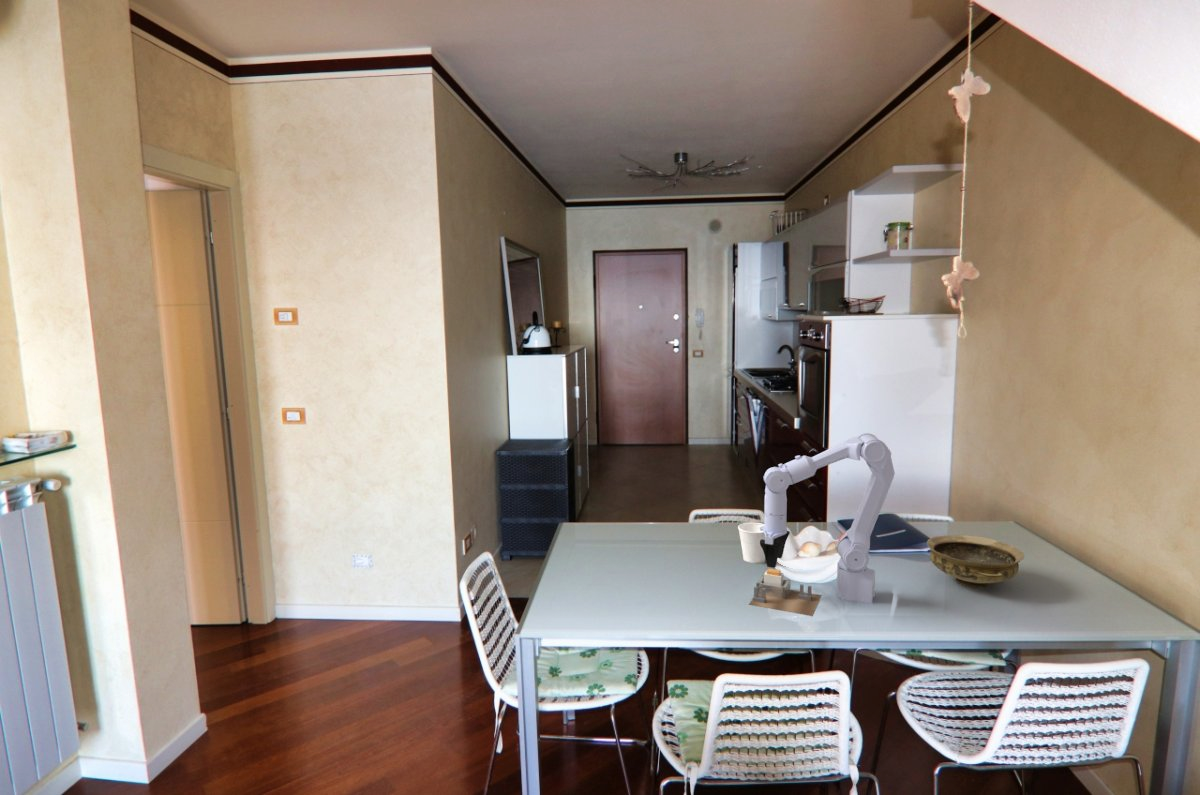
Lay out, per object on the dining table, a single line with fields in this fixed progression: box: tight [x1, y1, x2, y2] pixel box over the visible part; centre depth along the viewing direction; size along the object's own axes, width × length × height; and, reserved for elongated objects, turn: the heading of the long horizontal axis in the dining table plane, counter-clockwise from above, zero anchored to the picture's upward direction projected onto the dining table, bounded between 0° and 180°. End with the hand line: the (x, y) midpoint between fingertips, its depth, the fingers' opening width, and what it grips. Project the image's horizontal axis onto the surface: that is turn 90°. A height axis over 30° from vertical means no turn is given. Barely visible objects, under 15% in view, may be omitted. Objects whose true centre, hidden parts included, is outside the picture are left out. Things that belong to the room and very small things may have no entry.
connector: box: [763, 568, 784, 586], centre depth 186 cm, size 4×3×6 cm, turn 64°
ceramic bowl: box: [926, 534, 1025, 588], centre depth 193 cm, size 30×24×10 cm
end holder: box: [755, 574, 792, 599], centre depth 187 cm, size 8×6×3 cm
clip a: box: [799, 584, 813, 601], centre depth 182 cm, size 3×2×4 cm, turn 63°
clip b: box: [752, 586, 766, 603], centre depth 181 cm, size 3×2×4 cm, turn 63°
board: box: [748, 589, 823, 617], centre depth 182 cm, size 16×14×1 cm
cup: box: [737, 522, 766, 564], centre depth 211 cm, size 10×10×11 cm
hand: (774, 562), depth 186 cm, fingers open, 7 cm apart
